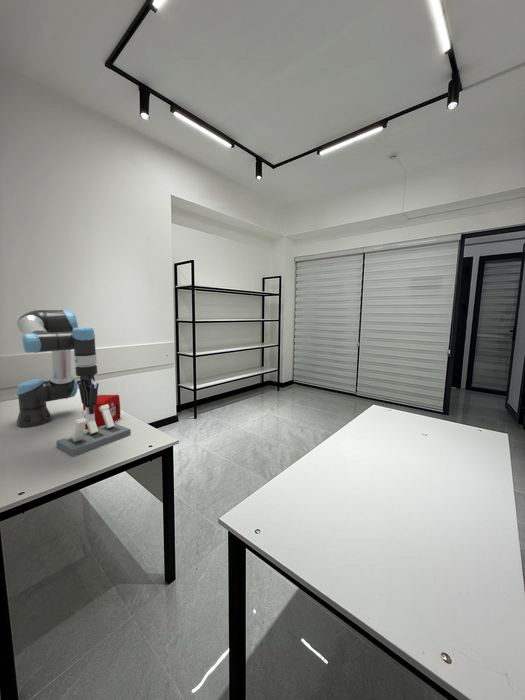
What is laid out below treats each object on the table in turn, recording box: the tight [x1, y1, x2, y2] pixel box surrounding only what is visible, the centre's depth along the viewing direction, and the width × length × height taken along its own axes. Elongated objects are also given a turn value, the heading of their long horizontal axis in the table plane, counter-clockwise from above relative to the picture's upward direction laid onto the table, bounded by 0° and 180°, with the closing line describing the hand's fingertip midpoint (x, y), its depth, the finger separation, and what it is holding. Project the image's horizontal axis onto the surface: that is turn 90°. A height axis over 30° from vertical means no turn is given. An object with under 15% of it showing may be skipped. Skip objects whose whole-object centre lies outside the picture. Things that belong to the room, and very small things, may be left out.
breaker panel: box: [55, 422, 132, 457], centre depth 137 cm, size 16×26×3 cm, turn 147°
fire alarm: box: [82, 394, 121, 430], centre depth 157 cm, size 16×11×15 cm
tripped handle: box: [73, 416, 87, 442], centre depth 128 cm, size 2×4×12 cm, turn 147°
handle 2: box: [99, 404, 115, 429], centre depth 144 cm, size 2×4×12 cm
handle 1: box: [81, 410, 98, 434], centre depth 138 cm, size 2×4×12 cm
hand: (90, 420), depth 121 cm, fingers closed
